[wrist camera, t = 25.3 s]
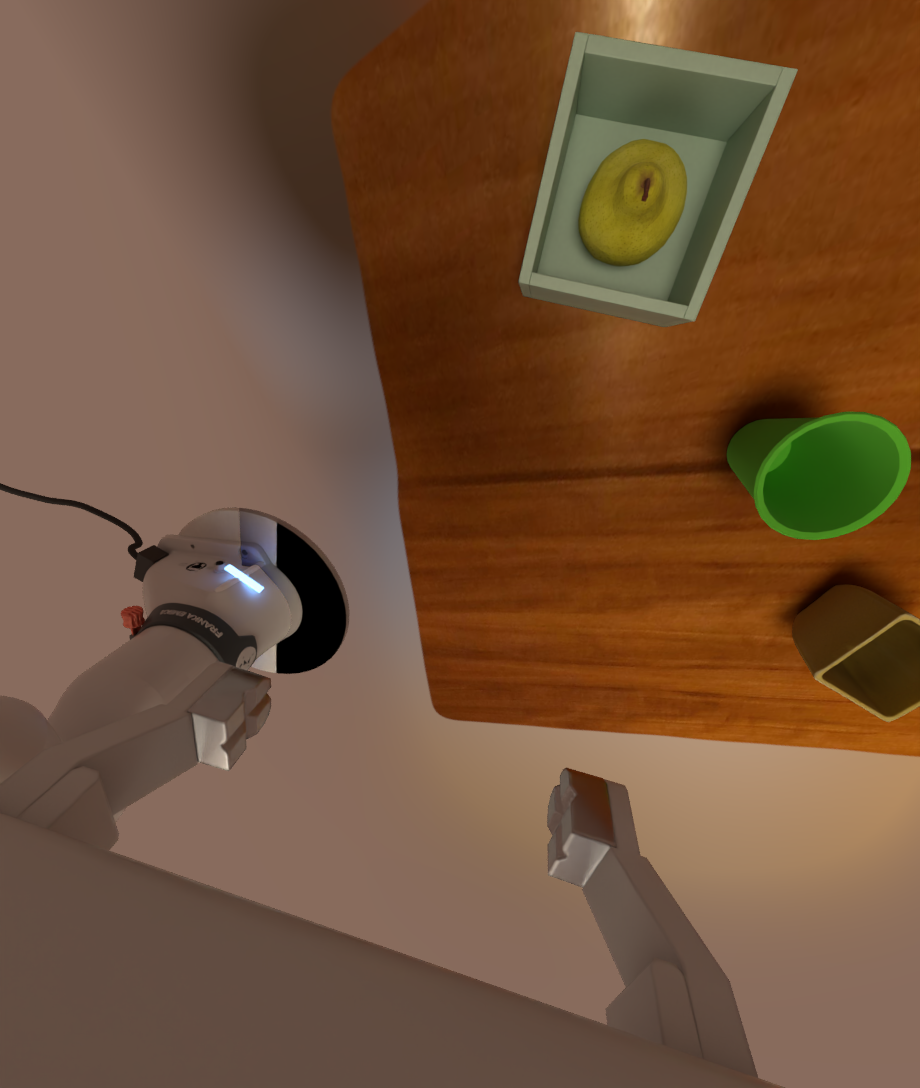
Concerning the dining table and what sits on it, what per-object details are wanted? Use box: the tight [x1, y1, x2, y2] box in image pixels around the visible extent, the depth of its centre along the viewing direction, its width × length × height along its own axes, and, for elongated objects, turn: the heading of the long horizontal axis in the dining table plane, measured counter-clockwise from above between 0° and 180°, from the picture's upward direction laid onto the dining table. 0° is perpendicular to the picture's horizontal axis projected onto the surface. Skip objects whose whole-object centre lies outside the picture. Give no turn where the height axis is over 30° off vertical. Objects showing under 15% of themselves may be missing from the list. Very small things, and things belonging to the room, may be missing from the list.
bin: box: [518, 32, 798, 327], centre depth 30 cm, size 13×13×8 cm
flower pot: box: [792, 585, 920, 722], centre depth 39 cm, size 9×9×9 cm
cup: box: [727, 412, 911, 540], centre depth 33 cm, size 9×9×11 cm
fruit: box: [578, 139, 687, 266], centre depth 27 cm, size 7×7×12 cm
